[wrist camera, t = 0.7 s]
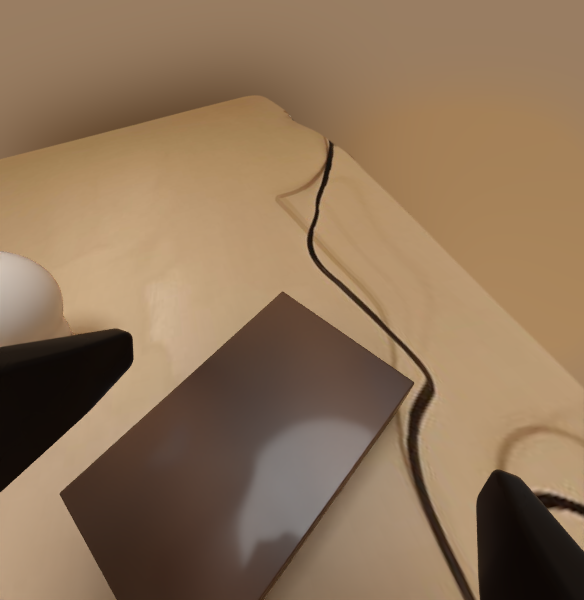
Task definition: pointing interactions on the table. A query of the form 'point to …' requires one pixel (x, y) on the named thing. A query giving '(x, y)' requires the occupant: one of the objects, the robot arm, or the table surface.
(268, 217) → the table surface
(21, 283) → the lightbulb
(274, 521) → the shelf
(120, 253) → the table surface
